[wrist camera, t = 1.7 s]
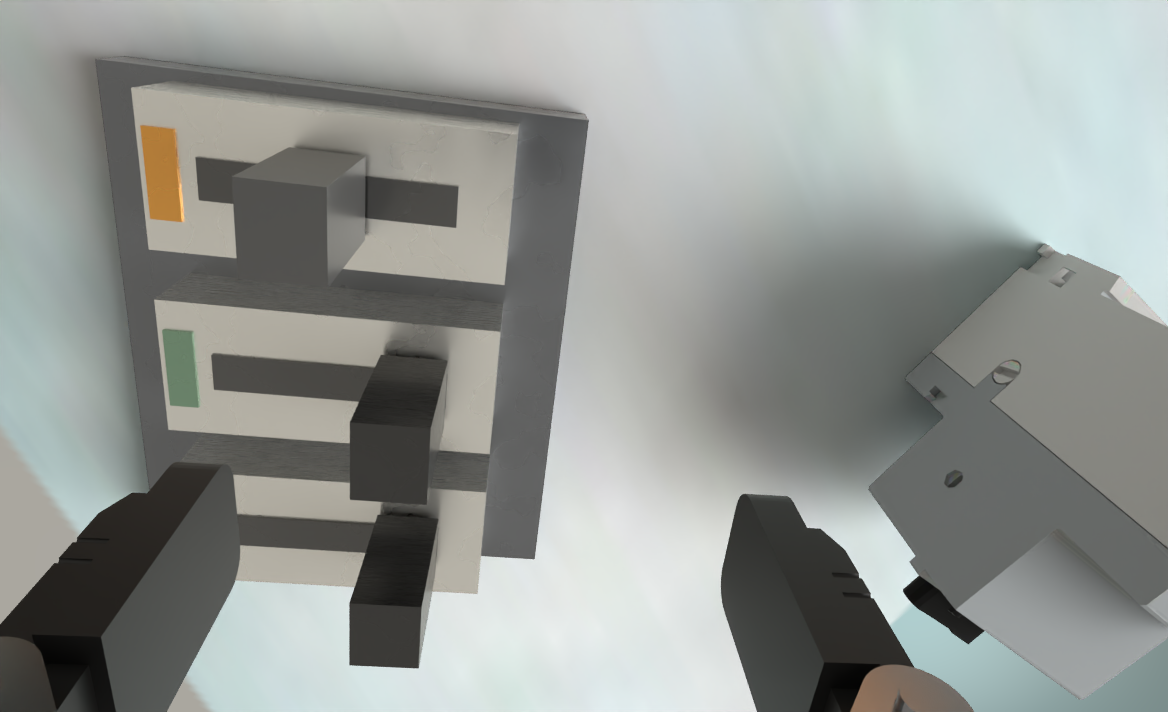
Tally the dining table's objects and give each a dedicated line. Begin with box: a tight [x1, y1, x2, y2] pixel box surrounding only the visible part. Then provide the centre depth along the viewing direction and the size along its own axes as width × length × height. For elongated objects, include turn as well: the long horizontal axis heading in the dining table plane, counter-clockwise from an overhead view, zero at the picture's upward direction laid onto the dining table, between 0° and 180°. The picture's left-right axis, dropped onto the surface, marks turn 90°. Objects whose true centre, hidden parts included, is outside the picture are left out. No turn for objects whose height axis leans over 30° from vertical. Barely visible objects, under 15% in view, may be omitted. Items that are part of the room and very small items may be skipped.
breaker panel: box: [96, 56, 589, 668], centre depth 28 cm, size 20×17×10 cm
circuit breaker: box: [868, 244, 1168, 700], centre depth 29 cm, size 8×14×15 cm, turn 141°
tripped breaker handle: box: [232, 147, 366, 288], centre depth 22 cm, size 3×2×5 cm
